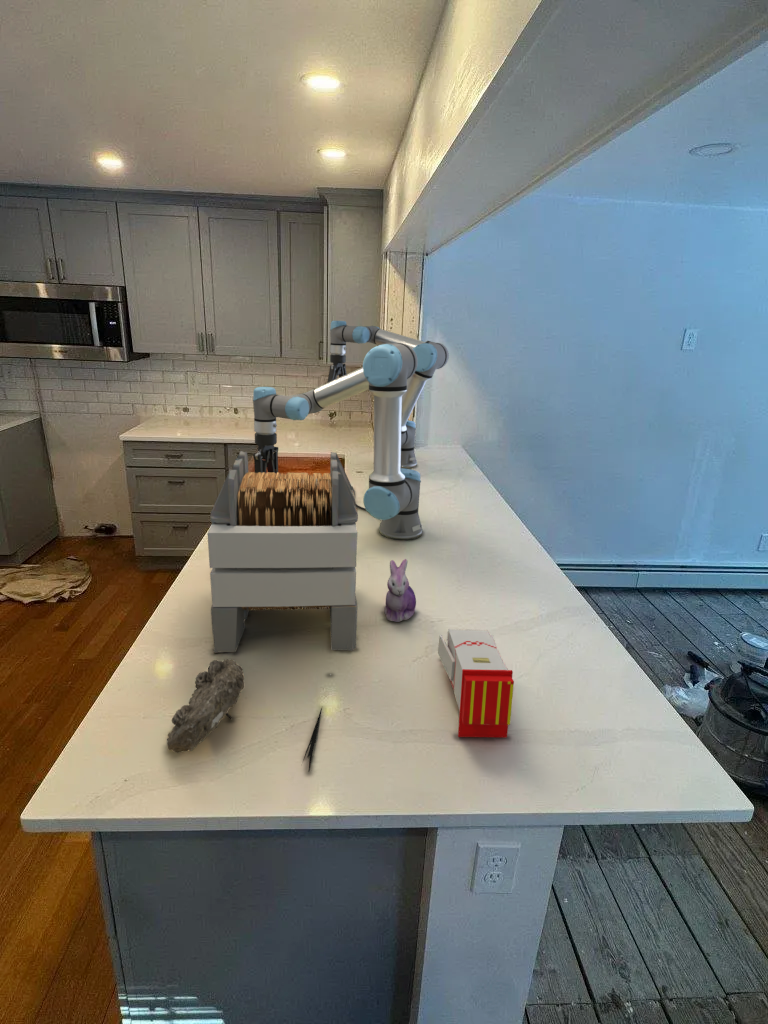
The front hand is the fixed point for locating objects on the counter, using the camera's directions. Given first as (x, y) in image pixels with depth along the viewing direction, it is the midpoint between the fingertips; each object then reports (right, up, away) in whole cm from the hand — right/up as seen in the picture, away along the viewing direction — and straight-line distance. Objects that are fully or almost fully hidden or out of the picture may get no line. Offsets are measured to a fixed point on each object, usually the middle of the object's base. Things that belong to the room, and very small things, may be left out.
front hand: (267, 496), depth 204 cm
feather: (+30, -46, -96) cm, 110 cm away
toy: (+60, -43, -86) cm, 113 cm away
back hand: (+19, +51, +77) cm, 94 cm away
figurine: (+46, -32, -57) cm, 80 cm away
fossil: (+9, -45, -96) cm, 107 cm away
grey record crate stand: (+18, -32, -60) cm, 70 cm away
